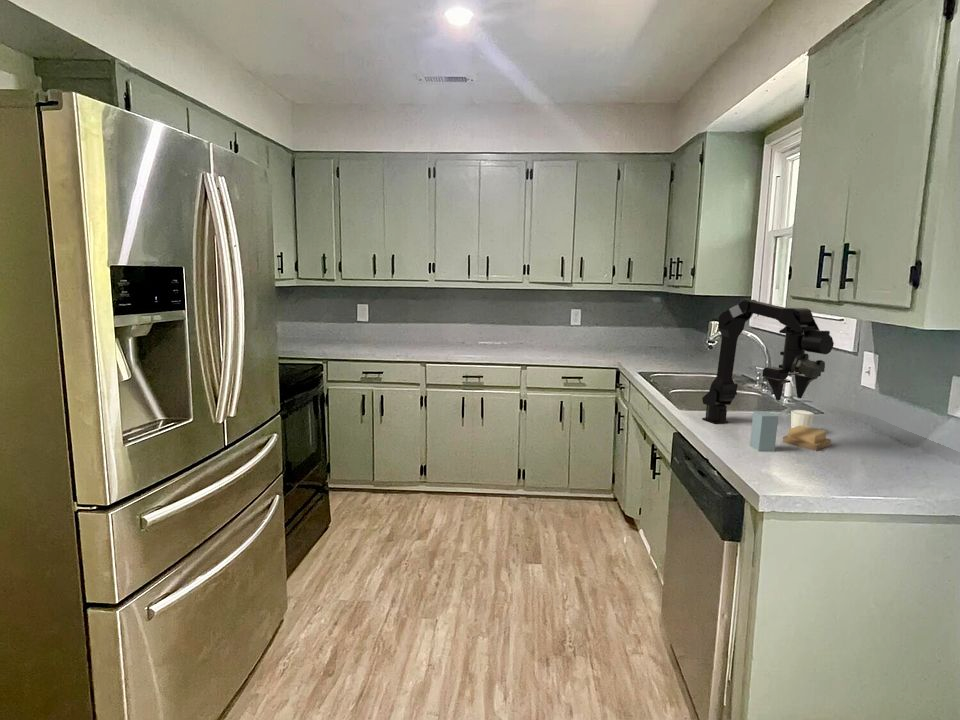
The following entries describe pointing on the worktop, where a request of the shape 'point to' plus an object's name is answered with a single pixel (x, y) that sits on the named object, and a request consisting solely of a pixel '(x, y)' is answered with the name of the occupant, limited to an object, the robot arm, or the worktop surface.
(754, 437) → the tall block
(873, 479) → the worktop surface
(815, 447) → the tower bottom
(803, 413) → the shot glass
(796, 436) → the tower top
